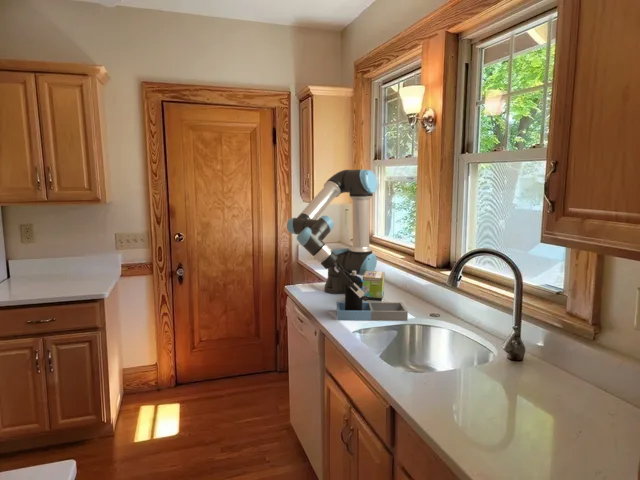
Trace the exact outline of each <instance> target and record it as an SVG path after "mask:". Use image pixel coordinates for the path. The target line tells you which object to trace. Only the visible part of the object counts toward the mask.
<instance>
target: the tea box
mask: <svg viewBox="0 0 640 480" xmlns="http://www.w3.org/2000/svg"><path fill="white" fill-rule="evenodd" d="M361 279H362V280H363V292H364V293H365V294H364V295H363V296H362V302H384V300H385V299H384V298H385V271H375V270H374V271H365V273H364V275H363V276H362V278H361Z"/></svg>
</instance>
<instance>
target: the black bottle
mask: <svg viewBox="0 0 640 480" xmlns="http://www.w3.org/2000/svg"><path fill="white" fill-rule="evenodd" d="M349 278H350V279H351V281H352V282H354V283H355V284H356V285H357V286H358V287H359V288H360V289H361V290H362V291H363V280H362V279H363V278H361V276H358V275H356V271H352V276H349ZM349 283H350V282H349ZM347 287H348V286H347V285H346V284H345V294H344V302H345V311H362V297H361V298H360V297H359V296H358V295H357V294H356V293H355V292H354V291H353V290H352V289H351V288H349V289H348V288H347Z"/></svg>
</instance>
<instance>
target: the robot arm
mask: <svg viewBox="0 0 640 480" xmlns="http://www.w3.org/2000/svg"><path fill="white" fill-rule="evenodd" d="M377 189H378V179H377V176H376V174H375V172H373V171H372V170H371V169H363V168H362V169H344V170H343V169H342V170H339V171H338V172H337V173H335V174H333V175H332V176H331V177H329V178H328V179H327V180H326V182H325V183H324V184H323V188H322V189H321V190H320V191H319V192H318V194H316V195H315V196H314V198H313V199H312V200H311V201H310V203H309V204H307V206H306V207H305V208H304V209H303V210H302V212H300V213H299V215H297V217H291V218H289V219H288V220H287V222H286V229H287V231H288V233H290V234H293V235H296V241H297V242H298V243H299V244H300V245H301V247H302V248H303V249H305V250H306V251H307V252H308V253H309V254H310V255H311V256H313V257H314V258H313V259H314V260H315V261H318V263H320V264H321V266H323V268H324V269H325V270H327V279H326V281H325V285H324V291H325V293H329V294H334V295H345V284H346V285H347V286H348V287H347V288H348V289H349V288H351V289H352V290H353V291H354V292H355V293H356V294H357V295H358V296H359V297H360V298H361V297H362V296H363V295H364V294H365V293H364V292H363V291H362V290H361V289H360V288H359V287H358V286H357V285H356V284H355V283H354V282H352V281H351V279H350V278H349V276H352V271H356V276H358V275H359V276H360V277H361V276H362V277H363V275H364V273H365V271H375V270H376V268H377V264H378V263H377V261H378V258H377V256H376V254H374V253H373V248H372V247H371V246H370V206H371V205H370V200H371V199H372V198H373V197H374V195H373V194H375V192H376V191H377ZM344 193H349V198H350V199H351V200H352V246H351V247H340V248H339V247H338V248H333V249H331V248H330V247H329V246H328V244H326V243H325V242H324V241H323V240H324V239H325V238H326V237H327V236H328V235H329V234H330V232H331V231H332V229H333V228H335V227H334V225H335V222H334V221H333V219H332V218H331V217H330V216H328V215H322V213H323V212H324V211H325V210H326V209H327V208H328V207H329V205H330V204H331V202H333V200H335V198H337V197H339V196H340V195H341V194H344ZM320 215H321V216H320ZM349 282H350V283H349Z"/></svg>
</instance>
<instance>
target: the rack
mask: <svg viewBox="0 0 640 480" xmlns="http://www.w3.org/2000/svg"><path fill="white" fill-rule="evenodd" d="M408 314H409V313H408V310H407V308H406V307H405V305H404V304H403V302H397V301H396V302H392V301H391V302H389V301H387V302H384V301H383V302H362V311H345V301H336V319H337V321H390V322H391V321H393V322H394V321H396V322H397V321H400V322H404V321H405V322H406V321H407V322H408V316H409V315H408Z"/></svg>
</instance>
